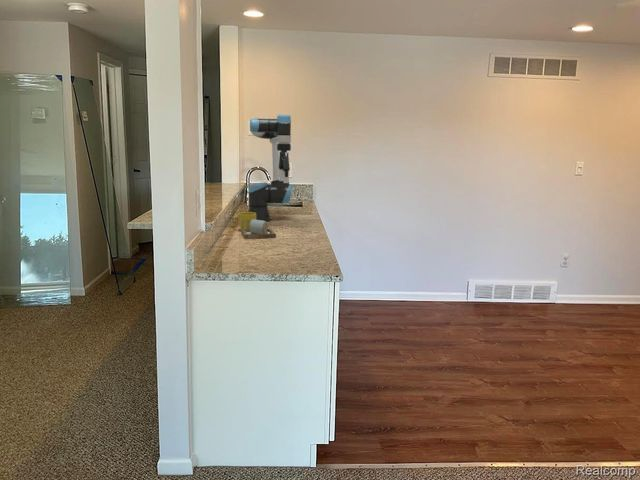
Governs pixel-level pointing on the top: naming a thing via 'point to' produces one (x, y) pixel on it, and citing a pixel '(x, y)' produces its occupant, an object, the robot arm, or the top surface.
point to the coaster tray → (248, 235)
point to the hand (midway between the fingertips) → (284, 182)
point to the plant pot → (245, 219)
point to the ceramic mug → (258, 227)
